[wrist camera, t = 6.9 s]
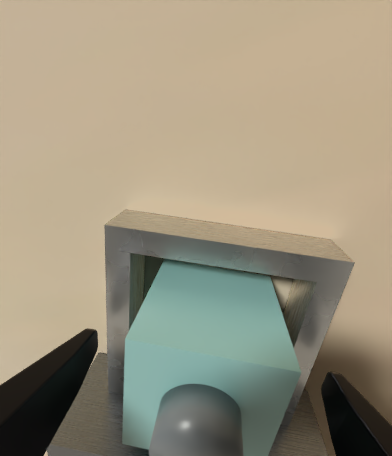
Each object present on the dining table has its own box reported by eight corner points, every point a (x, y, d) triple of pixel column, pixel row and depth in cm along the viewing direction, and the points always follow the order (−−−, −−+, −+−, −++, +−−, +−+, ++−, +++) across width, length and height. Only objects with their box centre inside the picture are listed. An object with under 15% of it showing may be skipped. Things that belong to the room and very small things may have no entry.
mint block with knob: (269, 275, 11) (316, 419, 6) (247, 354, 13) (266, 524, 7) (165, 257, 12) (106, 377, 6) (157, 337, 13) (107, 488, 8)
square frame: (367, 245, 10) (535, 371, 5) (273, 471, 16) (298, 642, 11) (92, 204, 11) (-41, 273, 5) (102, 436, 17) (43, 579, 12)
